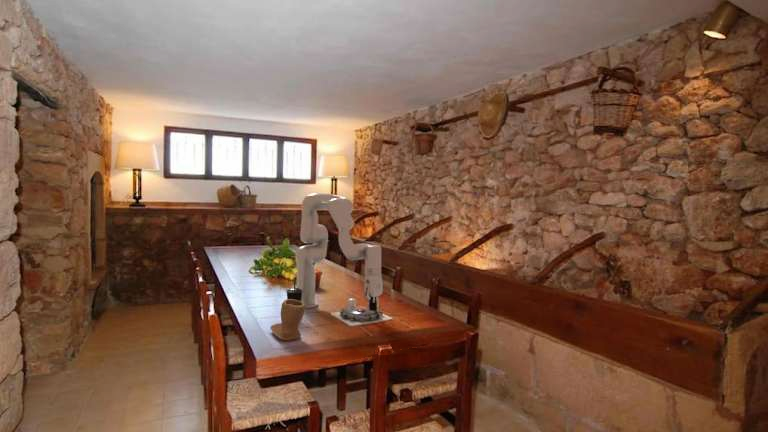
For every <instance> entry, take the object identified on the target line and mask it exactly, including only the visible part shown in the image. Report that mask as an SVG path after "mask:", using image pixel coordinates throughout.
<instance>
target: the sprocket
mask: <svg viewBox="0 0 768 432" xmlns="http://www.w3.org/2000/svg"><path fill="white" fill-rule="evenodd" d="M379 303H380V299H379V298H377V310H376V311H370V310H369V305H367V306H365V305H356V306H349V307H348V306H347V307H342V308H341V310H339V312H340V316H342V318H343V319H349V321H354V320H355V321H360V322H365V321H369V320H370V321H375V319H381V318H382V316H383V314H384V312H383V310H381V308H379V307H380V304H379Z"/></svg>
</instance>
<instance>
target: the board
mask: <svg viewBox="0 0 768 432" xmlns="http://www.w3.org/2000/svg"><path fill="white" fill-rule="evenodd" d="M330 316H332V317H334V318H336V320H339V321H341V322H342V323H344V324H346V325H348V326H349V327H351V328H352V327H357V326H358V327H359V326H362V325H370V324H375V323H381V322H389V321H393V320H394V318H393V317H391V316H389V315H386V314H385V313H383V316H382V318H381V319H375V321H370V320H369V321H365V322H360V321H355V320H354V321H349V319H343V318H342V316H340V311H336V312H331V313H330Z"/></svg>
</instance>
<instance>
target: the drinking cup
mask: <svg viewBox="0 0 768 432" xmlns="http://www.w3.org/2000/svg"><path fill="white" fill-rule="evenodd" d="M296 285H297V276H294V277H293V287H291V288H289V289H286V300H287V299H293V300H297V301H301V299H302V292H303V290H302V289H299V288H297V287H296Z"/></svg>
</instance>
